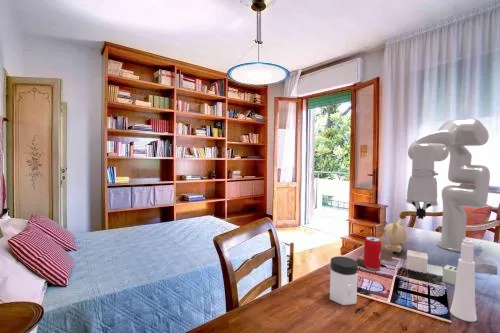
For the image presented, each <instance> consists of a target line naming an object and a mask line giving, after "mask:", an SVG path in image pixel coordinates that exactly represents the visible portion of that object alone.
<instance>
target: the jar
mask: <svg viewBox="0 0 500 333" xmlns="http://www.w3.org/2000/svg"><path fill="white" fill-rule="evenodd" d="M358 270H359V264H358V262H357V261H356V260H355V259H353V258H351V257H346V256H339V255H338V256H334V257H332V258H330V275H329V277H330V278H329V281H330V282H329V300H330V301H333V302H335V303H337V304H339V305H341V306H349V305H356V304H357V296H358V295H357V294H358Z"/></svg>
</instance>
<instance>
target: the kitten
mask: <svg viewBox="0 0 500 333" xmlns="http://www.w3.org/2000/svg"><path fill="white" fill-rule="evenodd" d="M382 237H383V239H384V240H385V242H387V244H386V245H385V246H392V249H393V252H394V253H400V252H401V251H402V249H403V243H405V242H406V240H407V231H406V229H405V227H404V226H403V221H402V219H401V218H399V219H398V221H397V222H389V223H388V224H386V225H385V226H384V228H383V230H382Z"/></svg>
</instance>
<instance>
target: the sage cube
mask: <svg viewBox="0 0 500 333" xmlns="http://www.w3.org/2000/svg"><path fill="white" fill-rule="evenodd" d="M457 267H458V266H457ZM457 267H456V266H453V265H449V264H446V265H445V266H444V267H442V282H444V283H447V284H448V285H449V284H450V285H454V286H455V284H456V275H457Z"/></svg>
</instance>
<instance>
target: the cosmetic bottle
mask: <svg viewBox="0 0 500 333" xmlns="http://www.w3.org/2000/svg"><path fill="white" fill-rule="evenodd" d="M474 250H475V246H474V241H473V240H469V239H465V240H463V243H462V244H461V252H460V256H461V258H460V259H459V258H458V261H457V275H456V284H455V285H454V292H453V298H452V301H451V302H452V303H451V307H450V309H449V313H450V314H451V315H452V316H454V317H456V318H457V319H459V320H461V321H464V322H470V323H473V322H476V321H477V320H478V316H477V311H476V310H477V309H476V296H475V295H476V294H475V293H476V292H475V290H476V287H475V285H476V276H475V275H476V272H475V262H473V256H474Z"/></svg>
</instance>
